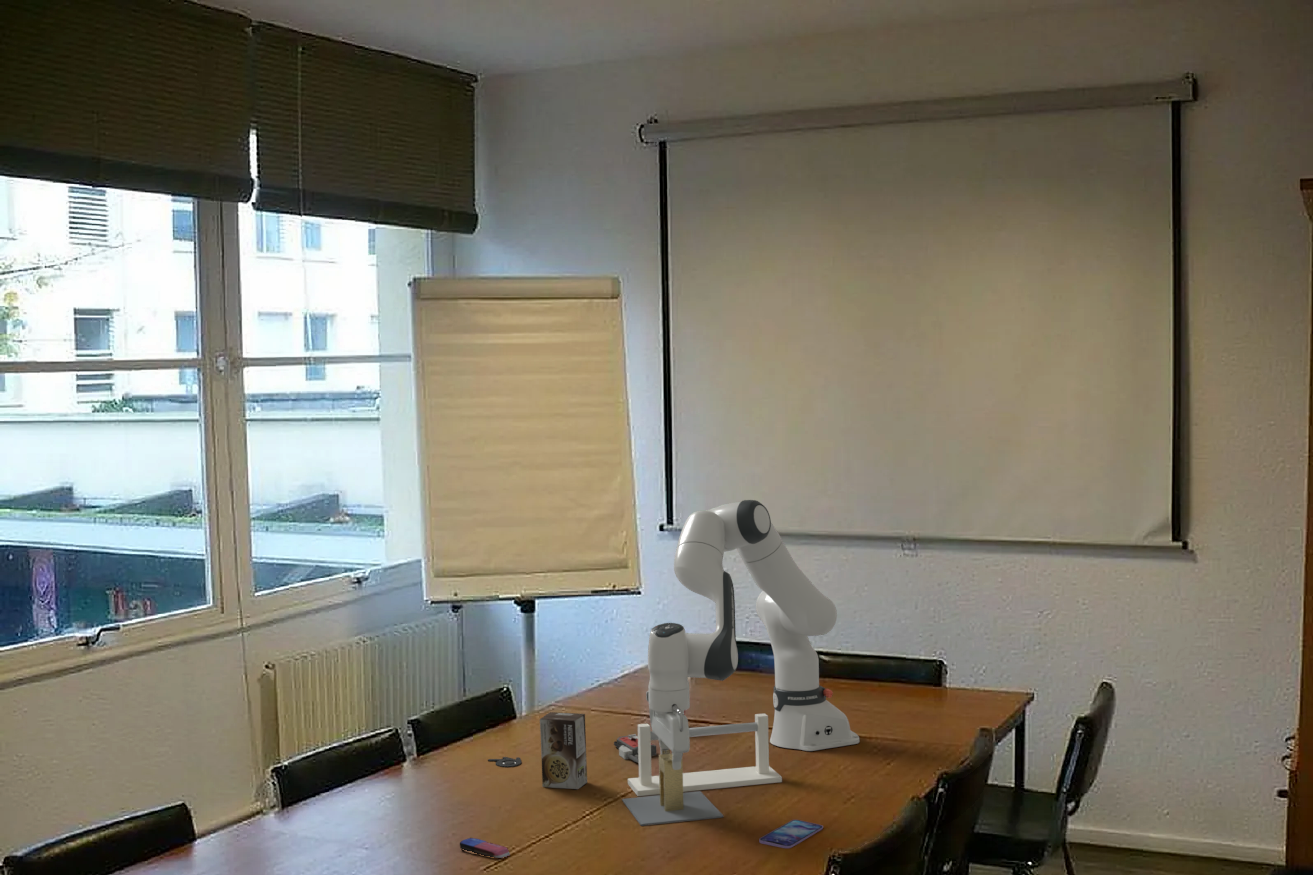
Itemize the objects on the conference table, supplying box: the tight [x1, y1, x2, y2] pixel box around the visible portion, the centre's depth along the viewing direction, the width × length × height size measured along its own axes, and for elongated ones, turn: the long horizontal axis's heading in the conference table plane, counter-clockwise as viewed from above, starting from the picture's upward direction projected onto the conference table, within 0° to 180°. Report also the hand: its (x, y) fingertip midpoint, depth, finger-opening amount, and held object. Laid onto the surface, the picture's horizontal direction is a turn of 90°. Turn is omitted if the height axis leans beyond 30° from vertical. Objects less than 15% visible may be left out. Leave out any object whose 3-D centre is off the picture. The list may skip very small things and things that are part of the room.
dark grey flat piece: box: [487, 756, 522, 768], centre depth 349 cm, size 9×8×1 cm
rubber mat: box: [621, 790, 724, 827], centre depth 309 cm, size 18×18×1 cm
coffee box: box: [539, 711, 588, 790], centre depth 328 cm, size 9×6×16 cm
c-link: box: [658, 753, 684, 811], centre depth 309 cm, size 4×5×11 cm
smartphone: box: [759, 819, 824, 849], centre depth 291 cm, size 7×1×15 cm
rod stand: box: [627, 713, 783, 797], centre depth 327 cm, size 34×10×15 cm, turn 104°
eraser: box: [459, 837, 511, 859], centre depth 285 cm, size 11×4×2 cm, turn 54°
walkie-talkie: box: [613, 733, 657, 764], centre depth 352 cm, size 9×4×20 cm
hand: (670, 763), depth 309 cm, fingers open, 8 cm apart
